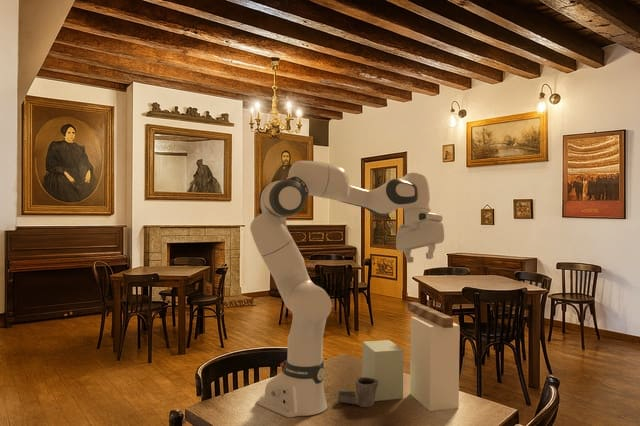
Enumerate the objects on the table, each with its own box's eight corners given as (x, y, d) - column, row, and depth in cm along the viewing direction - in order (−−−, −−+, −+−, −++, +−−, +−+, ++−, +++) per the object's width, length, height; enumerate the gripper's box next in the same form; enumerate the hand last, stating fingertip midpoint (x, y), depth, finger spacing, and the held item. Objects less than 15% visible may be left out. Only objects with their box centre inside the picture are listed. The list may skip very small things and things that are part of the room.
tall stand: (410, 393, 156) (410, 316, 156) (436, 391, 159) (437, 315, 158) (429, 411, 142) (430, 327, 142) (458, 408, 145) (459, 325, 145)
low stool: (362, 387, 161) (362, 341, 161) (388, 385, 164) (389, 340, 164) (374, 401, 150) (374, 351, 150) (402, 398, 152) (403, 349, 152)
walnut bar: (407, 310, 167) (407, 302, 167) (415, 310, 167) (415, 301, 167) (444, 328, 141) (444, 318, 141) (453, 327, 142) (453, 317, 142)
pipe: (339, 400, 150) (339, 375, 150) (378, 402, 148) (378, 377, 148) (337, 407, 144) (337, 382, 144) (378, 410, 142) (378, 384, 142)
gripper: (390, 225, 163) (392, 263, 160) (431, 212, 146) (434, 255, 143) (404, 227, 166) (406, 265, 163) (446, 214, 149) (448, 257, 146)
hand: (419, 260), depth 153 cm, fingers open, 8 cm apart
